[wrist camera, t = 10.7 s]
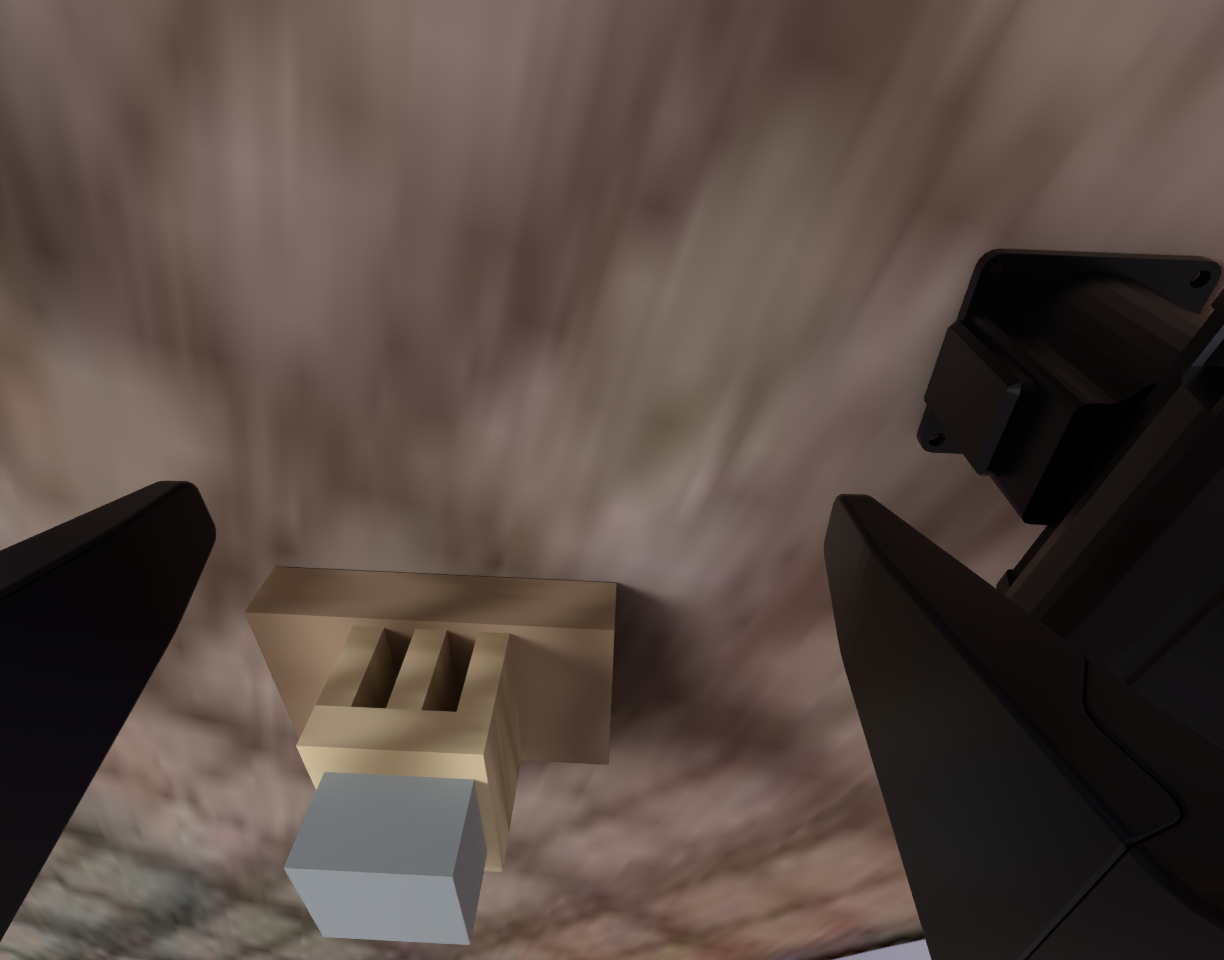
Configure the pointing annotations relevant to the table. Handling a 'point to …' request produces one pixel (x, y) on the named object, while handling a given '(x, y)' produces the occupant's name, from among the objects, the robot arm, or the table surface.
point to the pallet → (423, 720)
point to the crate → (391, 858)
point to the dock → (454, 642)
